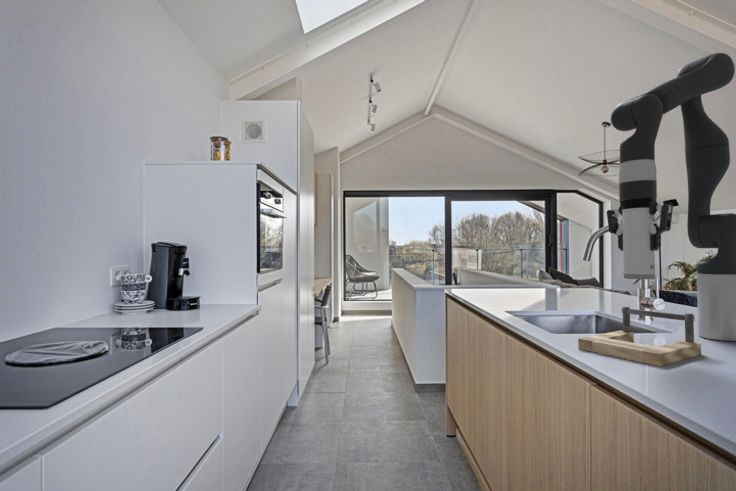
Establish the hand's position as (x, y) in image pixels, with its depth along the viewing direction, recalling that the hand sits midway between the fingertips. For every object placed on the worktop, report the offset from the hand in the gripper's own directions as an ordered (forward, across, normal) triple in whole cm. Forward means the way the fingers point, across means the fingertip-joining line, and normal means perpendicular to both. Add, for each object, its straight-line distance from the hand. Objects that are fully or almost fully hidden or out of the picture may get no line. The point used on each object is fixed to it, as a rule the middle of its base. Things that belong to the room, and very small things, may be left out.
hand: (638, 250), depth 97 cm
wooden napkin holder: (+24, 0, +2) cm, 24 cm away
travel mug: (+7, 0, 0) cm, 7 cm away
